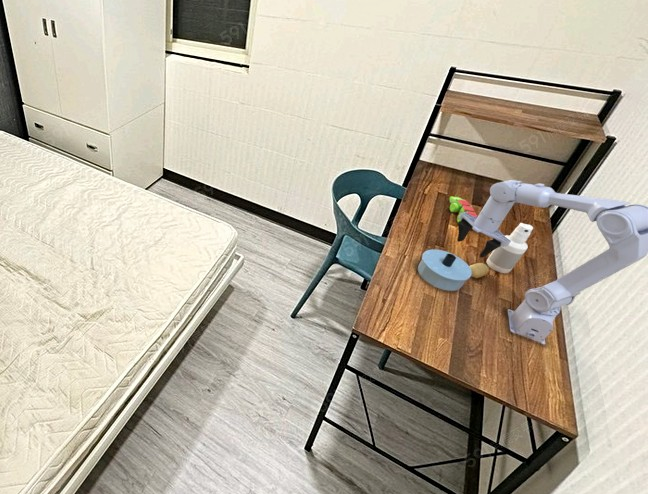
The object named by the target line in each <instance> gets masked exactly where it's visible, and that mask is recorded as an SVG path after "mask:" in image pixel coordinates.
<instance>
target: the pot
mask: <svg viewBox="0 0 648 494" xmlns="http://www.w3.org/2000/svg"><path fill="white" fill-rule="evenodd" d="M417 272H418V274H419V276H420V277H421V278H422V279H423V280H424V281H425V282H426V283H428V284H429V285H431V286H433V287H435V288H438V289H440V290H443V291H448V292H449V291H450V292H454V291H459V290H460V289H461V288H462V287H463V286H464V284H465V283H466V281H467V280H465V281H453V280H449V279H446V278H443V277H441V276H439V275H437V274H435V273H434V272H432V271H431V270H430V269H429V268H428V267H427V266H426V265H425V264H424V262H423V260H422V259H421V260H420V261H419V263H418V266H417Z"/></svg>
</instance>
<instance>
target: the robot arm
mask: <svg viewBox="0 0 648 494" xmlns="http://www.w3.org/2000/svg"><path fill="white" fill-rule="evenodd" d="M489 194H490V196H489V198H488V199H487V200H486V202H485V204H484V206H483V207H482V209H481V210H480V212H479V214H477V216H478V217H474V216H472V215H470V214H468V213H466V212H464V213H461V214H460V216H459V217H458V216H457V217H458V218H460V219H462V220H461V221H459V222H457V228H458V229H457V230H458V234H457V239H456V242H458V243H460V242H464V241H465V239H466V238H467V236H468V234H469V232H470V231H471V230H473V231H475V232H476V233H481V234H483V235H485V236H487V237H489V238H491V239H490V240H487V241H486V243H485V246H484V248H483V250H482V251H481V252H480V254H479V257H480V259H481V258H482V259H483V258H485V257H487V256H488V255H490V254H491V253H492V252H493V250H495V249H496V248H498V247H500V246H503V247H505V246H508V245H509V243H510V242H511V240H509V239H508V238H506V237H505V236H506V235H504V234H503V233H502V232H501V230H499V228H500V226H501V224H502V223H503V221H504V220H505V219H506V217H507V215H508V214H509V212H510V211H511V209H512V207H513V206H514V204H515V203H517V204H521V205H527V206H532V207H537V208H543V209H545V208H548V207H549V206H556V207H560V208H564V209H568V210H573V211H577V212H582V213H586V214H587V217H588V218H589V221H590V222H592V223H594V222H596V226H597V229H599V231H600V233H601V235H602V236H603V238H604V239H605V241H606V242H607V245H608V247H609V248H607V249H606V250H604V251H603V252H601V253H599V254H598V255H596V256H593V258H591V259H589V260H588V261H586V262H584V263H583V264H581V265H579V266H577V267H576V268H574V269H572V270H571V271H569V272H567V273H566V274H564V275H563V276H561V277H559V278H557V279H556V280H553V281H551V282H549V283H547V284H545V285H542V286H538V287H535V288H529V289H528V290H526V291H525V293H524V299H523V301H521V303H520V304H519V306H518V307H517V308H515V310H512V309H509V308H508V309H507V315H508V323H509V330H510V332H512V333H513V334H517V335H519V336H521V337H524V338H527V339H529V340H532V341H535V342H536V343H539V344H541V345H546V339H547V337H548V336H549V335H550V334H551V333H553V331H554V320H555V319H556V317H557V316H558V315H559V314H560V312H561V309H562V307H563V306H569V305H571V304H572V303H574V301H575V298H576V297H577V296H578V295H580V294H581V292H583V291H585V290H587V289H589V288H590V287H592V286H594V285H596V284H598V283H599V282H602V281H603V280H605V279H608V278H609V277H611V276H613V275H614V274H616V273H618V272H620V271H622V270H624V269H625V268H628V267H629V266H631V265H633V264H635V263H637V262H638V261H639V262H640V260H642V259H644V258H646V257H647V255H648V206H647V205H644V204H638V203H635V204H633V203H632V204H631V202H629V201H625V200H617V199H608V198H600V197H593V196H585V195H576V194H568V193H560V192H556V191H555V189H553V188H552V187H550V186H545V184H544V183H535V184H531V183H525V182H523V181H522V180H516V179H509V180H504V181H500V182H496V183H494V184H492V185H491V187H490V188H489ZM472 227H473V228H472Z"/></svg>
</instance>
